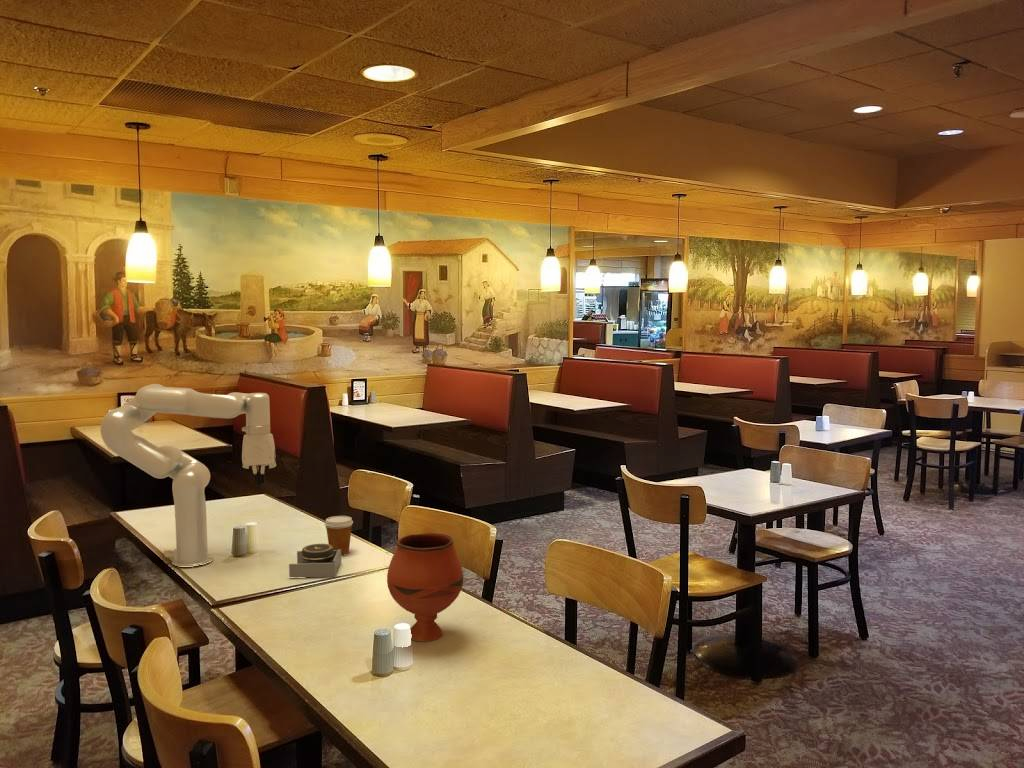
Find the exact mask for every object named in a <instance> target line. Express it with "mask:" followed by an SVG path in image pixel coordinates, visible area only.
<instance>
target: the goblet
mask: <svg viewBox="0 0 1024 768" xmlns="http://www.w3.org/2000/svg"><path fill="white" fill-rule="evenodd" d="M454 541H455V540H454V537H452V536H450V535H447V534H443V533H437V532H436V533H435V532H434V533H433V532H429V533H420V534H416V533H415V534H408V535H405V536H402V537H400V538H399V539H398V540H397V541H396V548H395V550H394V553H393V555H392V557H391V560H390V563H389V565H388V569H387V576H386V583H387V588H388V591H389V593H390V596H391V597H392V599H393V600H394V602H396V604H398V605H399V606H400V607H401V608H402V609H404V610H405V611H406V612H409V613H411V614H412V615H414V619H415V620H416V622H415V623H414V624H413V625H412V626H411V627H410V629H411V634H412V639H411V640H412V641H414V642H415V641H416V642H431V641H435V640H438V639H440V638H441V637H442V635H444V634H443V630H442V629H441V627H440V626H439V624H438V623H437V622H436V620H437V619H438V614H440V613H441V612H443V611H446V609H447V608H449V607H450V606H451V605H452V604H453V603H454V601H456V599H457V598H458V596H459V595H460V593H461V591H462V588H463V587H464V586H463V585H464V574H463V573H464V571H463V568H462V563H461V560H460V557H459V555H458V553H457V551H456V547H455V545H454Z"/></svg>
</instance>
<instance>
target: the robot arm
mask: <svg viewBox="0 0 1024 768" xmlns="http://www.w3.org/2000/svg"><path fill="white" fill-rule="evenodd" d="M270 405H271V404H270V395H269V394H268V393H266V392H251V393H248V392H247V393H243V392H237V391H236V392H229V393H227V394H214V393H213V394H212V393H204V392H199V391H197V390H194V389H193V388H190V387H189V388H188V387H176V386H175V387H171V386H164V385H162V384H159V383H151V384H148V385H144V386H142V387H141V388H139V389H138V391H137V392H136V394H135V396H134V397H132V398H131V399H129V400H128V401H126V402H125V403H124V404H123V405H121V406H119V407H116V408H113V409H111V410H110V411H108V412H107V413H106V414H105V415H104V416H103V418H102V420H101V423H100V428H99V429H100V430H99V431H100V436H101V439H102V441H103V443H104V444H105V446H106V447H107V448H108V449H109V450H110V451H111V452H112V453H115V454H116V455H117V456H118V457H120V458H122V459H123V460H126V461H127V462H129V463H130V464H132V465H134V466H135V467H136V468H138V469H140V470H142V471H144V472H145V473H147V474H148V475H150V476H151V477H153V478H155V479H165V478H167V477H169V478H171V479H172V483H171V484H172V486H171V487H172V488H171V489H172V491H171V492H172V497H173V503H174V517H175V518H174V519H175V545H176V549H173V550H169V549H167V550H166V549H165V550H164V551H163V556H164V557H165V558H166V559H168V558H172V560H171V565H172V564H173V565H175V566H193V565H200V564H204V563H207V562H209V561H211V560H212V559H213V560H214V556H213V555H211V554H210V553H209V550H208V549H209V548H208V525H207V524H208V521H207V520H208V519H207V505H206V503H207V501H206V495H205V489H206V487H207V486H208V485H209V483H210V480H211V472H210V470H209V468H208V467H207V466H206V465H205V463H202V462H201V461H199V460H197V459H195V458H194V457H192V456H190V455H189V454H188V453H186V452H184V451H182V450H181V449H179V448H177V447H175V446H172V445H163V446H157V445H155V444H153V443H152V442H150V441H148V440H147V439H146V438H143V436H142V437H141V436H139V435H137V434H135V433H134V432H132V431H133V430H135V429H137V428H139V427H140V426H141V425H142V424H143V423H145V422H146V421H147V420H149V419H150V418H152V417H153V416H154V415H155V414H157V413H160V414H172V415H173V414H175V415H188V416H193V417H194V416H196V417H202V418H212V419H213V418H214V419H234V418H236V417H239V415H243V414H245V422H246V423H245V426H242V427H241V431H242V432H244V433H245V434H244V435H243V438H242V439H243V440H242V448H241V450H242V451H241V461H242V465H241V466H242V468H244V469H248V470H250V471H251V472H252V473H253V475H254V483H255V484H256V485H255V486H256V487H259V486H260V487H262V486H263V485H264V484H265V483H266V474H265V473H266V472H267V471H268V470H269V469H273V468H275V467H277V463H276V458H277V457H276V447H275V446H276V445H275V439H274V435H273V433H271V409H270V407H271V406H270ZM259 466H260V470H259ZM173 565H172V566H173ZM175 566H174V567H175Z"/></svg>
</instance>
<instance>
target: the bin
mask: <svg viewBox="0 0 1024 768" xmlns="http://www.w3.org/2000/svg"><path fill="white" fill-rule="evenodd" d="M296 561H297V563H289V564H288V572H289V573H288V574H289V577H334V578H336V577H337V575H336V574H338V572H339V570H340V567H341V565H342V556H341V549H338V550H334V559H333V563H302V550H297V551H296ZM340 564H341V565H340ZM339 566H340V567H339ZM338 569H339V570H338ZM337 571H338V572H337ZM335 576H336V577H335Z"/></svg>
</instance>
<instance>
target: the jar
mask: <svg viewBox="0 0 1024 768" xmlns="http://www.w3.org/2000/svg"><path fill="white" fill-rule="evenodd" d="M301 551H302V563H333V559H334V547H333V546H332V545H329V543H312V544H308V545H305V546H303V547H302V550H301Z"/></svg>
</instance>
